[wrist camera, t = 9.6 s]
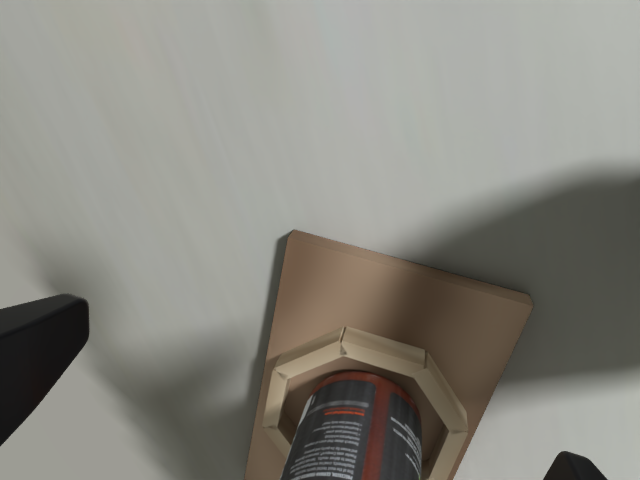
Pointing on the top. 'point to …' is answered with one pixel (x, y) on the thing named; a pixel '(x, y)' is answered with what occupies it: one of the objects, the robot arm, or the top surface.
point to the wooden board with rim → (383, 345)
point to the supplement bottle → (357, 432)
